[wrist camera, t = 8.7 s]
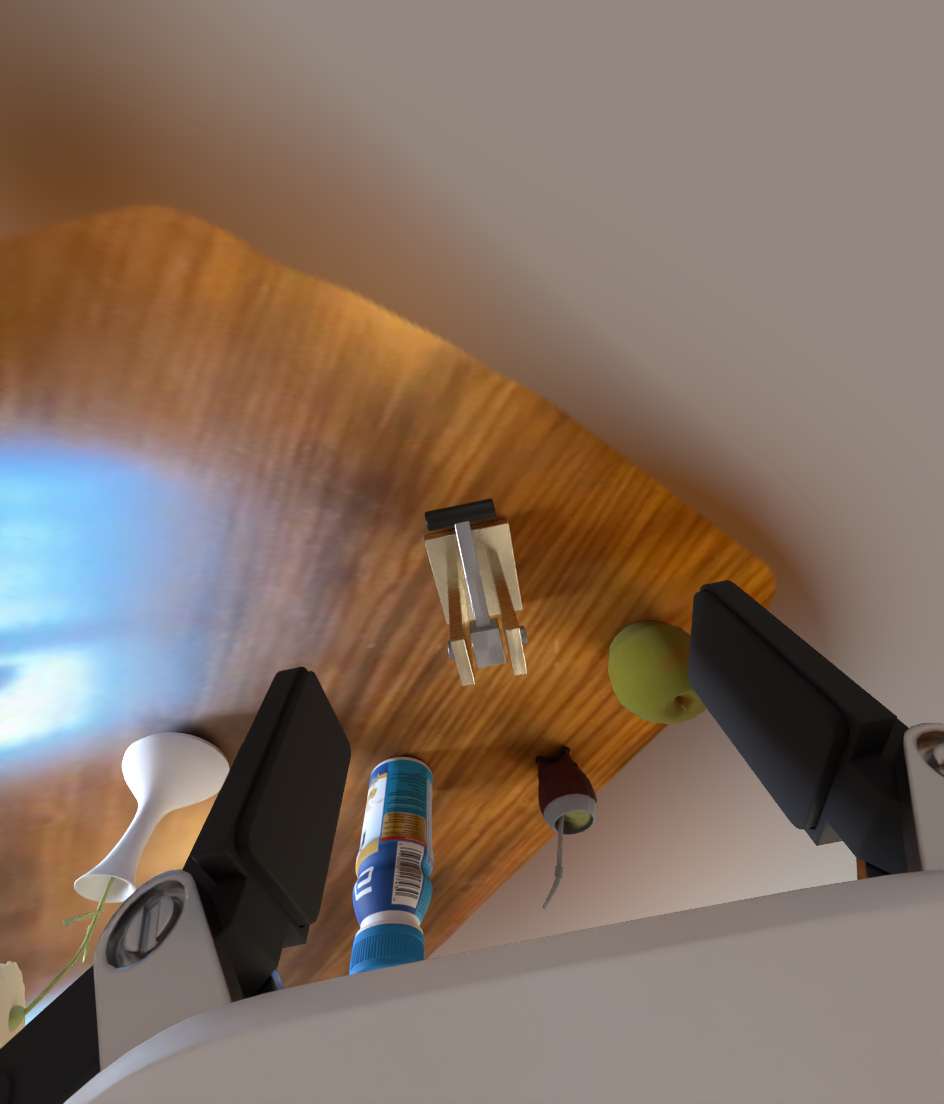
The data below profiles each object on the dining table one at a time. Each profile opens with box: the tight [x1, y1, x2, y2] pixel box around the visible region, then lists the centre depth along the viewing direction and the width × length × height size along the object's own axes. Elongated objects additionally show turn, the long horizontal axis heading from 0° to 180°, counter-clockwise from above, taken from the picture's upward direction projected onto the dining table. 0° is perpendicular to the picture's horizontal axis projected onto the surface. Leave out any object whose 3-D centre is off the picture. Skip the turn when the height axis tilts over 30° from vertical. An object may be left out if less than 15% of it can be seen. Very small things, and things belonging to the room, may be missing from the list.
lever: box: [425, 499, 506, 668], centre depth 31 cm, size 12×5×2 cm, turn 11°
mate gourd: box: [536, 747, 598, 910], centre depth 50 cm, size 8×8×15 cm
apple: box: [608, 620, 706, 724], centre depth 43 cm, size 10×10×11 cm
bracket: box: [424, 519, 527, 686], centre depth 36 cm, size 10×8×13 cm
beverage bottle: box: [349, 757, 434, 975], centre depth 46 cm, size 8×8×20 cm
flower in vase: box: [0, 732, 230, 1049], centre depth 39 cm, size 13×11×25 cm
